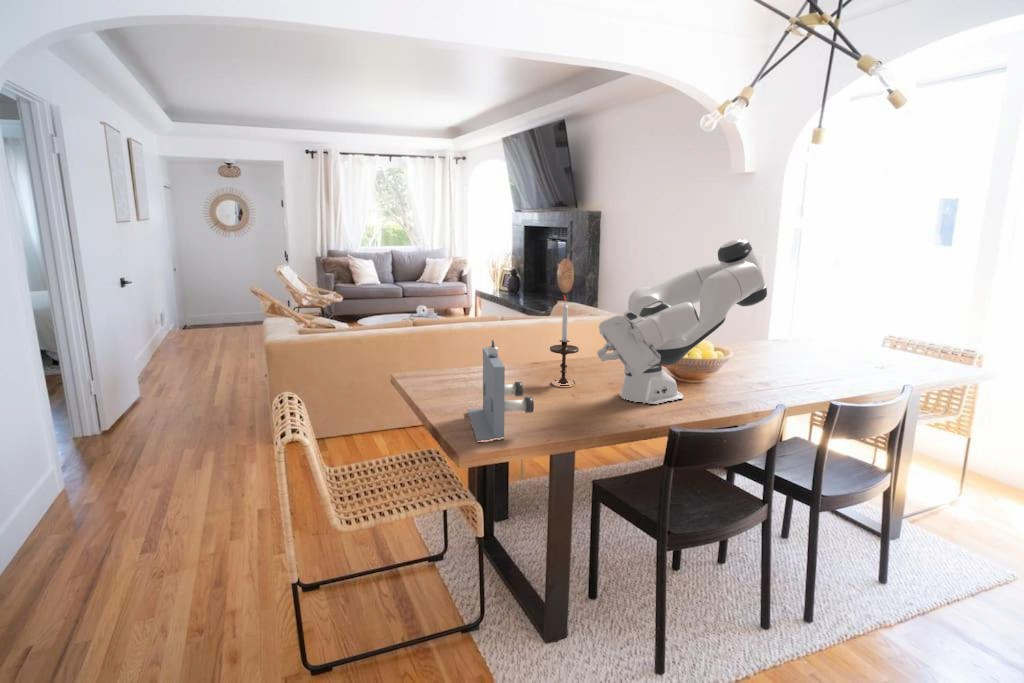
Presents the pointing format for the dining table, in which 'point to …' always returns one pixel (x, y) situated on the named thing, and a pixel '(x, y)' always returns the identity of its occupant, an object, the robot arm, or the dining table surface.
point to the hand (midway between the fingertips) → (599, 356)
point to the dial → (492, 351)
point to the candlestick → (564, 346)
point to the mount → (490, 401)
